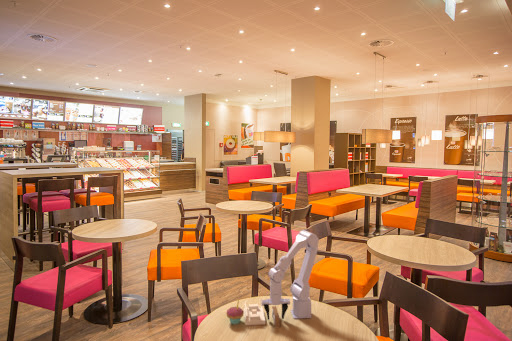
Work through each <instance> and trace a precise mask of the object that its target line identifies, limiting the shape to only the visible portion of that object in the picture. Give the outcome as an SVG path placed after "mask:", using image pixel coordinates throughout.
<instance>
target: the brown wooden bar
mask: <svg viewBox="0 0 512 341" xmlns="http://www.w3.org/2000/svg"><path fill="white" fill-rule="evenodd" d="M271 317H272V319H273V320H272V321H273V323H274V327H275V328H280V315H279V312H278V308H277V305H272V307H271Z"/></svg>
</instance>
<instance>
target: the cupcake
mask: <svg viewBox="0 0 512 341" xmlns="http://www.w3.org/2000/svg"><path fill="white" fill-rule="evenodd" d="M239 303H240V299H237V303H236V306H231V307H230V308H228V309H227V310H226V312H225V313H226V317H227V318H228V319H229V321H230V324H232V325H238V324H240V322H241V319H242V317H244V309H242V308H241V307H239Z"/></svg>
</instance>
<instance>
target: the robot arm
mask: <svg viewBox="0 0 512 341" xmlns="http://www.w3.org/2000/svg"><path fill="white" fill-rule="evenodd" d="M319 242H320V239H319V237H318V235H317V234H316V233H313V232H310V231H307V230H306V229H302V230H300V231H299V232H298V234H297V235H296V236H295V241H294V242H293V244H292V245H291V247H290V248H289V250H288V251H287V253H286V254H285V255H282V256H281V257H280V258H279V260H278V261H277V263H276V264H275V265H274V267H271V268H270V269H269V271H268V272H267V276H268V278H269V298H267V299H264V300H263V299H261V300H260V305H261V307H263V309H264V310H265V313H266V316H267V320H268V321H269V320H270V306H271V305H272V306H279V305H281V319H282V320H284V319H285V315H286V312H287V310H288V309H289V306H290V305H291V300H290V298H288V299H287V298H282V281H283V280H284V278H285V273H286V271H287V270H288V269H289V267H290V266H291V265H292V260H293V258H294V257H295V256H296V255H297V254H298V253H299V252H300V250H301V249H303V248H306V251H305V254H304V258H303V261H302V264H301V268H300V270H299V273H298V277H297V278H295V279H293V280H294V281H293V283H292V284H291V286H290V289H289V290H290V291H289V292H290V293H291V295H292V309H290V313H291V315H292V318H293V319H295V320H297V319H311V318H312V299H311V298H310V295H311V294H310V290H311V286H310V284H309V280H310V277H311V274H312V271H313V268H314V263H315V260H316V257H317V254H318V251H319V245H318V244H319ZM288 305H289V306H288Z"/></svg>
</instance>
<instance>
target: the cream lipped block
mask: <svg viewBox="0 0 512 341" xmlns="http://www.w3.org/2000/svg"><path fill="white" fill-rule="evenodd" d="M243 306H244V307H243V311H244V312H243V317H244V325H245V326H253V325H254V326H256V325H266V317H265V312H264V306H261V307H260V306H259V304H258V303H252V304H248V306H247V302H244V305H243Z"/></svg>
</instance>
